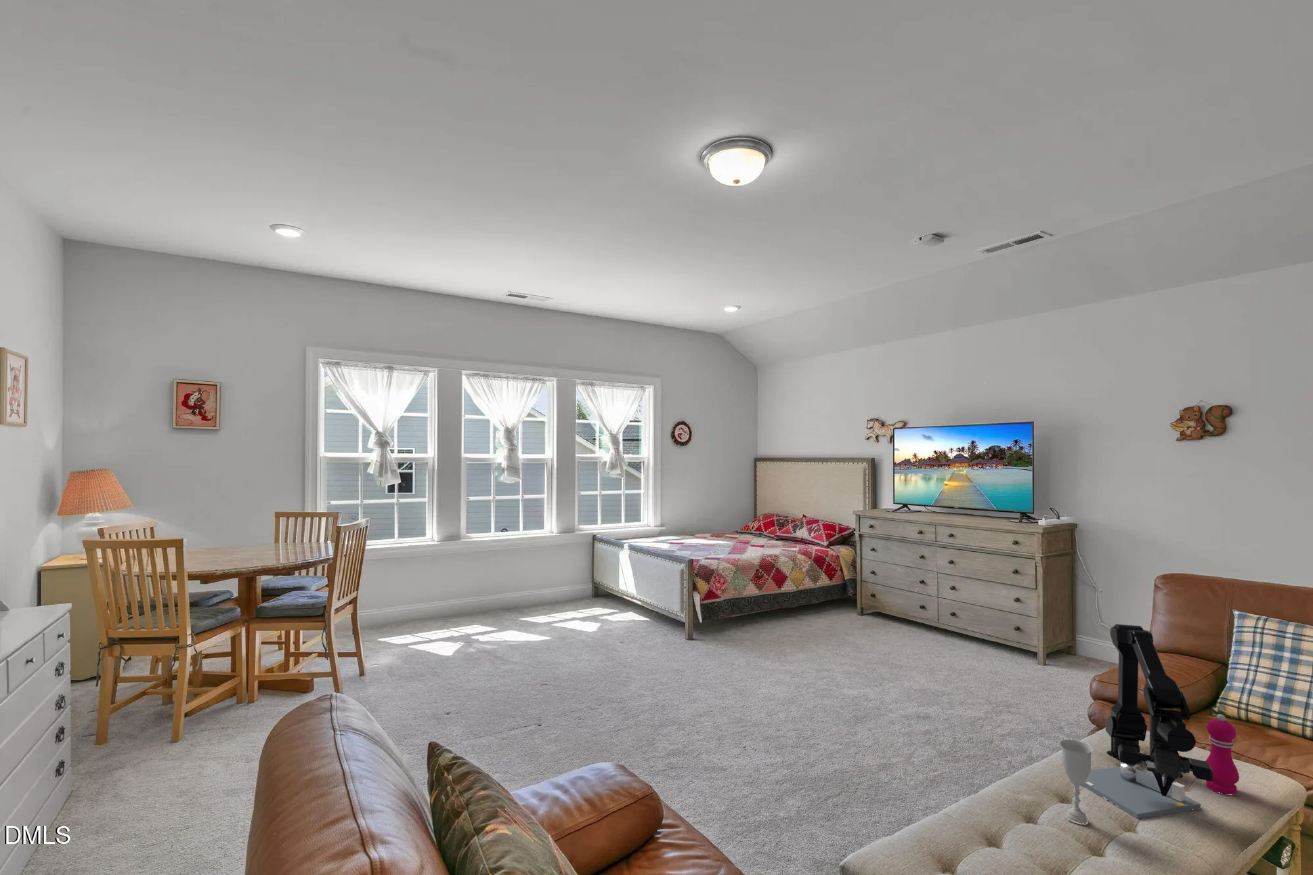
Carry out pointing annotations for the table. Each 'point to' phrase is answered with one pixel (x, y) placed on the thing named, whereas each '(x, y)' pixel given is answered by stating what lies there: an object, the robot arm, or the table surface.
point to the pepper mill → (1222, 756)
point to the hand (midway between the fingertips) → (1163, 795)
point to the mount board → (1134, 795)
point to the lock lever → (1150, 780)
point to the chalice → (1076, 772)
